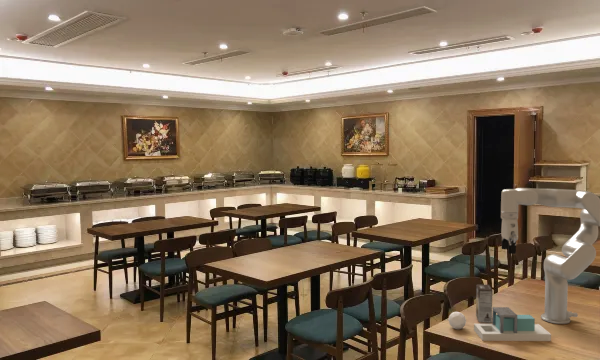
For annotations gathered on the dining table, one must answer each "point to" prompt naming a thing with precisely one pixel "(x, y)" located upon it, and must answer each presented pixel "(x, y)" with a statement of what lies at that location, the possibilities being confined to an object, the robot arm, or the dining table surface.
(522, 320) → the block
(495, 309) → the tunnel
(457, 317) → the geometric ball
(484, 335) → the white base plate
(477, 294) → the coffee box
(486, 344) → the dining table surface
